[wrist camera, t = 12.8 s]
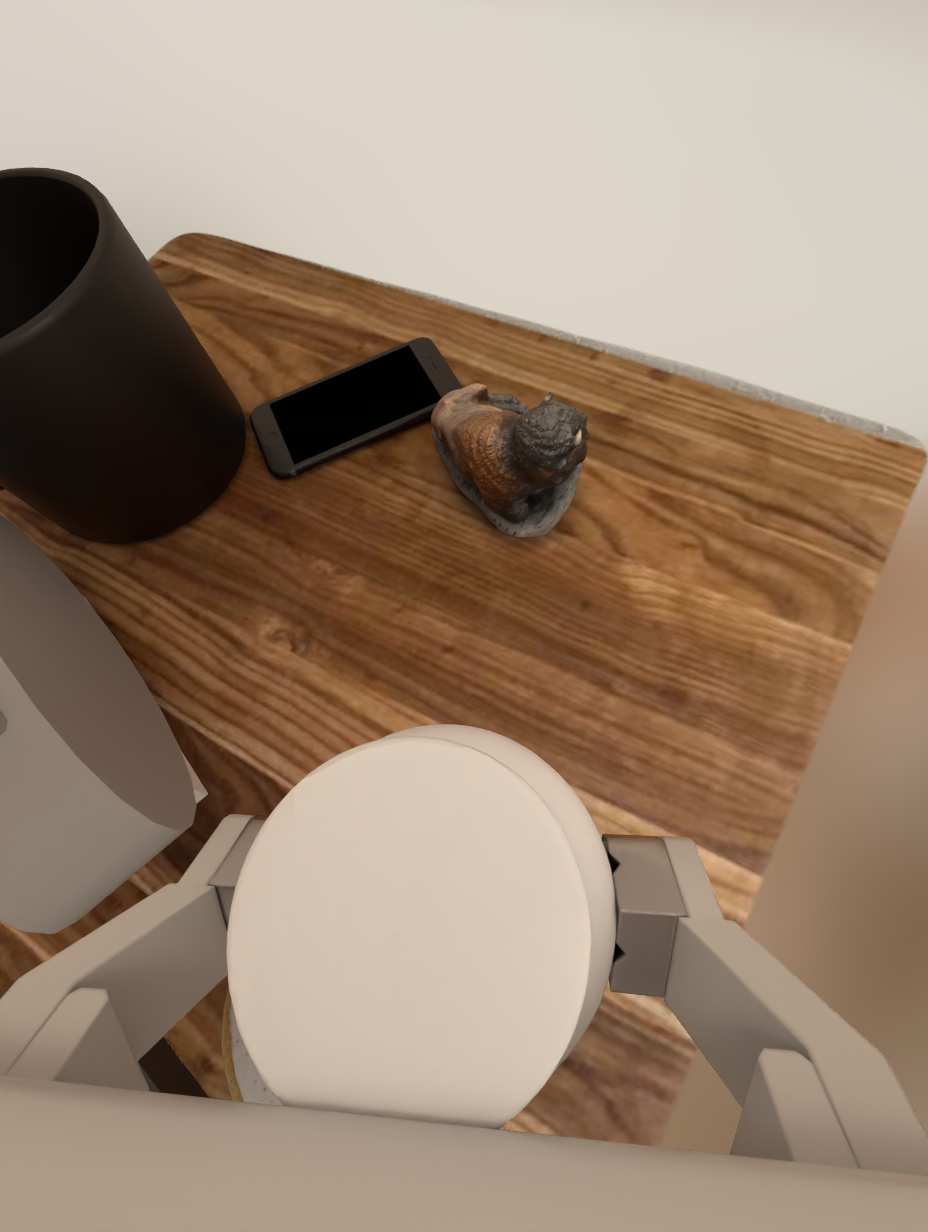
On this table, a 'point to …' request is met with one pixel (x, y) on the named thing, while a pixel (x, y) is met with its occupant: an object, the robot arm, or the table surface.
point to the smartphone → (351, 407)
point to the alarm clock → (75, 751)
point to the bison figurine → (511, 456)
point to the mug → (101, 372)
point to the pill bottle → (421, 930)
